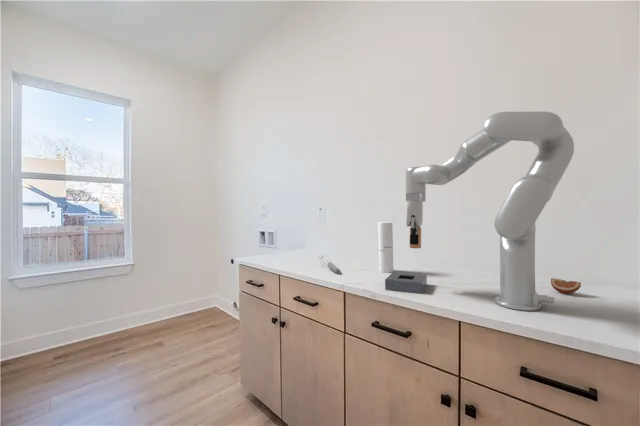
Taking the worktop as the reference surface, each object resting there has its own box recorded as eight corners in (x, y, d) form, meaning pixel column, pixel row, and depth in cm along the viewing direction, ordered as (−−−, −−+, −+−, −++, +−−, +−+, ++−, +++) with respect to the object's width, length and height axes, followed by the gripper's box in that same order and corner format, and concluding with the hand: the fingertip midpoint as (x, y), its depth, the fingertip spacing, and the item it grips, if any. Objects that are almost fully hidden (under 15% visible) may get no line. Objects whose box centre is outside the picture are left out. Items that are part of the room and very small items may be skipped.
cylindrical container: (393, 272, 146) (392, 222, 145) (379, 272, 147) (378, 222, 147) (393, 269, 153) (392, 221, 152) (379, 269, 154) (378, 222, 154)
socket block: (426, 284, 123) (426, 274, 123) (422, 293, 111) (421, 282, 110) (393, 281, 129) (393, 272, 129) (385, 289, 117) (385, 279, 117)
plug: (421, 247, 119) (421, 227, 119) (420, 248, 115) (420, 228, 115) (410, 246, 121) (410, 227, 121) (408, 247, 117) (408, 228, 117)
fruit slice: (582, 294, 105) (582, 280, 105) (579, 298, 101) (579, 283, 101) (552, 289, 111) (552, 276, 111) (549, 293, 107) (548, 279, 107)
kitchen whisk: (334, 276, 143) (333, 263, 143) (316, 264, 176) (316, 253, 176) (345, 275, 145) (345, 262, 145) (326, 263, 177) (326, 252, 177)
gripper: (409, 198, 127) (409, 240, 127) (401, 198, 112) (401, 245, 112) (428, 198, 123) (427, 241, 124) (422, 197, 108) (421, 247, 109)
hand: (415, 243), depth 118 cm, fingers closed on plug, 4 cm apart
